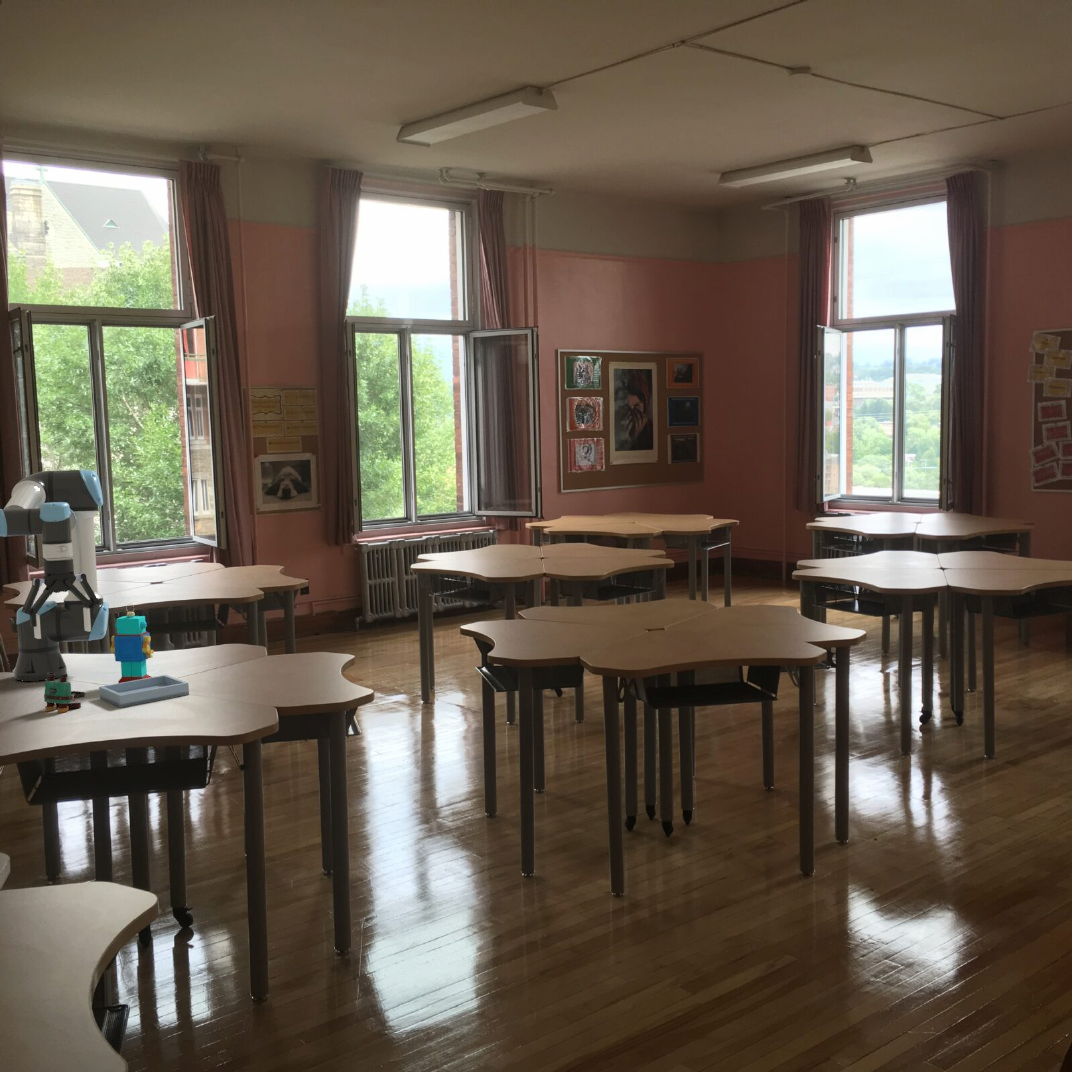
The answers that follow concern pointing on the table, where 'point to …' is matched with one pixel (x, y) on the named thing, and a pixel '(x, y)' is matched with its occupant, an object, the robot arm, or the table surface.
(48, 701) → the binoculars
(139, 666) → the toy robot
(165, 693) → the light blue rectangular tray
